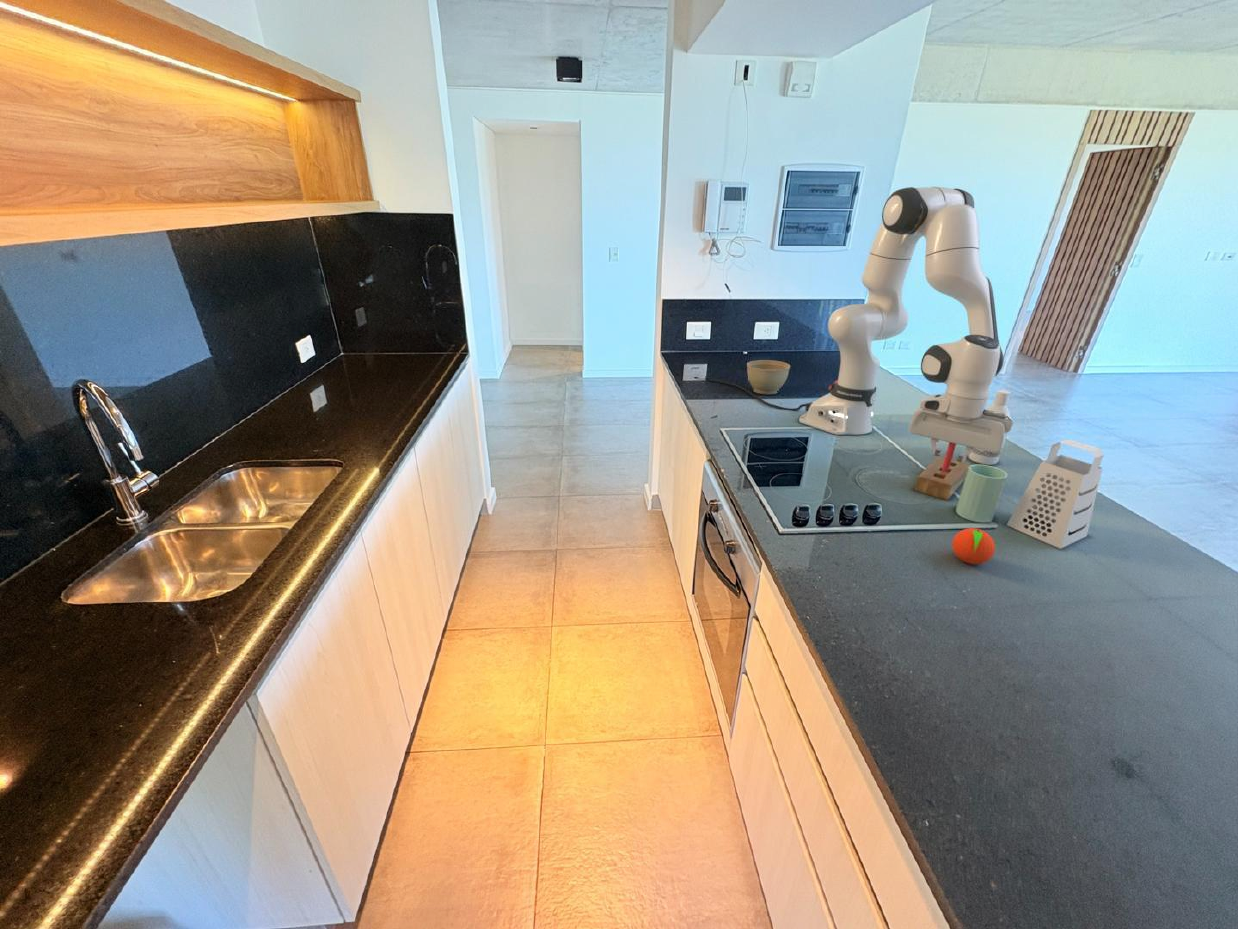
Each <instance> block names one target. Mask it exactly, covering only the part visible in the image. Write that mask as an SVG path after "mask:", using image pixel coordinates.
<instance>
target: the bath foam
mask: <svg viewBox="0 0 1238 929" xmlns="http://www.w3.org/2000/svg"><path fill="white" fill-rule="evenodd" d="M1010 396H1011V391H1008V390H1004V389H1003V390H1002V389H999V390H997V391H996V393H995V397H994V401H993V403H992V404H991V405H989V407H986V408H985V410H989V411H993V412H997V413H1004V414H1007V416H1009V417H1010V418H1011V413H1010V411H1009V408H1008V406H1007V405H1008V403H1009V400H1010ZM983 415H984V414H983ZM1006 419H1008V418H1006ZM1011 419H1012V418H1011ZM1007 435H1008V433H1007V434H1006V436H1007ZM1001 453H1002V450H1001V451H999V452H997V453H993V452H989V451H984V450H980V449H976V448H975V449H974V450H973V451H972V452H971V453H970V454H969V455H968V459H969V460H970V461H972V462H974V463H975V464H980V465H988V466H992V465H993V466H994V465H996V464H997V463H998V462H999V459H1000V457H1001Z"/></svg>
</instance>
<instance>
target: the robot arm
mask: <svg viewBox="0 0 1238 929" xmlns="http://www.w3.org/2000/svg"><path fill="white" fill-rule="evenodd" d="M881 220H882V222H881V223H880V225H879V227H878V229H877V231H876V234H875V236H874V238H873V241H872V243H871V246H870V250H869V253H868V256H867V259H866V262H865V265H864V269H863V272H862V276H861V282H862V284H863V286H864V287H865V288H866V289H867V291H868V295H867V296H868V298H867V301H866V303H859V304H857V303H856V304H848V305H845V306H843V307H840V308H837V309H836V310H834V311H833V312H832V313H831V315H830V317H829V319H828V322H827V330H828V333H829V336H830V337H831V338H832V339H833V340H834V342H836V344H837V346H838V350H839V354H840V355H839V356H840V364H839V372H838V378H837V380H835V381H834V382H833V383H831V384H830V385H829V386H828V387H829V388H828V390H829V393H826V394H825V395H823V396H821V397H819V398H817V399H815V400H814V401H810V402H807V403H803V404H800V405H799V406H798V407H795V408H787V407H783V406H780V405H776V404H772V403H769V402H768V401H765V400H764V399H762V398H760V397H759V396H757V395H755V394H754V393H753V394H752V392H751V391H749V390H748V389H747V388H745V387H743V386H740V385H738V384H735V383H732V382H728V381H724V380H719V381H718V379H713V378H710V379H707V378H708V377H707V378H704V379H705V380H708V381H710V382H714V383H720V384H725V385H729V386H733V387H736V388H738V389H740V390H742V391H744V392H746V393H747V394H749V395H750V396H752V397H753V398H754V399H756V400H757V401H759V402H761V403H763V404H765V405H767V406H769V407H772V408H776V409H779V410H783V411H791V412H793V411H794V412H796V411H800V410H801V409H802V408H803V407H804V408H805V409H804V411H805V413H803V414H801V415H800V416H799V420H798V421H799V423H801V424H804V425H807V426H810V427H812V428H815V429H818V430H822V431H824V432H827V433H829V434H833V435H835V436H836V435H837V436H844V435H854V436H855V435H856V436H857V435H858V436H860V435H866V434H867V435H868V434H869V433H871V432H872V431H873V427H872V426H873V425H872V424H873V423H872V417H873V416H874V412H873V406H874V403H875V399H876V395H877V393H876V392H877V380H878V375H879V370H880V365H881V364H880V360H879V358H878V357H876V356H875V355H874V354H873V352H872V342H873V341H883V340H888V339H891V338H894V337H897V336H898V335H899V336H900V335H901V334H902V333H903V332H904V331H905V330H906V328H907V326H908V323H909V314H908V311H907V309H906V307H905V306H904V304H903V287H904V283H905V279H906V276H907V273H908V271H909V268H910V265H911V262H912V259H913V255H914V253H915V250H916V246H917V244H918V241H920V239H921V238H922V237H924V239H925V259H924V272H925V273H924V274H925V279H926V281H927V283H928V285H929V286H930V287H932V289H934V290H935V291H937V292H938V293H940V294H943V295H945V296H948V297H949V298H953V299H954V300H956V301H958V302H959V303H960V304H961V305H962V306H963V307H964V308H965V310H966V314H967V315H966V316H967V323H968V331H969V334H968V335H967V334H966V335H965V336H963V337H961V339H959V340H956V341H952V342H946V343H945V342H944V343H938V344H933V345H931V346H930V347H929V348H928V349H927V350H926V351H925V352H924V353H923V355H922V358H921V361H920V371H921V374H922V376H923V377H924V378H925V379H926V380H927V381H928V382H931V383H935V384H945V385H946V389H945V392H944V393H935V394H929V395H927V396H925V397H923V398H922V399H921V400H920V402H919V408H918V409H916V410H915V412H914V413H913V415H912V418H911V419H910V423H909V427H908V430H909V432H910V434H912V435H916V436H917V435H918V436H921V437H925V438H929V439H930V444H931V447H932V449H933V450H932V453H931V455H932V456H935V457H937V458H938V457H939V456H941V454H942V451H943V448H941V447H940V446H939V445H938V442H939V441H943V442H947V443H949V442H951V443H955V444H956V445H960V446H964V447H965V451H966V452H965V453H959V454H958V456H957V459H956V460H957V461H958V462H962V463H964V462H966V460H967V457H969V454H970V453H971V452H972V451H973V450H974V449H975V448H976V449H980V450H984V451H989V452H993V453H997V452H999V451H1001V452H1002V450H1003V449H1004V448H1005V443H1006V440H1007V435H1008V433H1009V432H1010V431H1011V430H1012V427H1013V423H1014V422H1013V419H1012V418H1010V417H1011V416H1010V417H1009V416H1007V414H1004V413H997V412H993V411H989V410H986V409H987V405H988V401H989V398H990V387H991V385H992V383H993V382H994V380H995V378H996V377H997V376H998V374H999V373H1000V372H1001V370H1002V369H1003V366H1004V363H1005V362H1004V352H1003V350H1002V346H1001V344H1000V339H999V332H998V322H997V314H996V305H995V296H994V290H993V286H992V282H991V280H990V278H989V277H988V276H986V274H985V273H984V271H983V266H982V265H981V260H980V231H979V229H980V228H979V221H978V216H977V212H976V209H975V200H974V197H973V195H972V194H971V193H970V192H968V191H966V190H964V189H960V188H949V187H944V186H943V187H942V186H930V187H929V186H927V187H926V186H925V187H923V186H922V187H913V186H910V187H905V188H904V187H903V188H900V189H897V190H895V191H893V192H892V193H891V194H890V195H889V196H888V198H887V199H886V201H885V203H884V205H883V207H882V213H881ZM697 378H698V377H695V376H694V378H693V379H697ZM723 381H724V382H723ZM742 387H743V388H742ZM744 388H745V389H744ZM747 390H748V391H747ZM983 414H984V415H983ZM1006 418H1008V419H1006ZM1006 434H1007V435H1006Z"/></svg>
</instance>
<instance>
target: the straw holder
mask: <svg viewBox="0 0 1238 929" xmlns="http://www.w3.org/2000/svg"><path fill="white" fill-rule="evenodd" d="M944 460H945V456H942V455H940V456H939V457H938V456H937V457H936V459H934V460H933V461H932V462H931V463H930V464H929V465H928V466H927V467H926V468H925V469H924V470H923V471H922V472H921V473H920V474H919V475H918V476H917V480H916V484H915V487H914V491H916V492H919V493H922V494H926V495H930V496H932V497H935V498H939V499H942V500H945V501H948V500H949V499H950V498H951V497H952V496H953V495H954V493H955V492H956V491H957V489H958V488H959V487H960V486H961V485H963V483H964V481H965V477H966V474H967V471H968V467H969V466H971V465H972V464H971V463H969V462H966V461H965V462H964V463H962V462H958V461H957V459H953V458H952V460H951V464H950V467H949V471H948V472H945V471H941V470H942V467H943V463H944Z"/></svg>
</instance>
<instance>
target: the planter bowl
mask: <svg viewBox="0 0 1238 929" xmlns="http://www.w3.org/2000/svg"><path fill="white" fill-rule="evenodd" d="M746 367H747V368H746V372H747V379H748V381H749V383H750V385H751V387H752V391H753V392H754V393H756V394H759V395H776V394H778V393H779V391H780V389H781V388H782V387H783V385H785V383H786V381H787V379H788V377H789V372H790V370H791V365H790V364H789V363H787V362H784V361H779V360H772V359H771V360H769V359H768V360H767V359H760V360H759V359H758V360H751V361H749V362H747V363H746ZM753 389H754V390H753ZM777 391H778V392H777Z"/></svg>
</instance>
